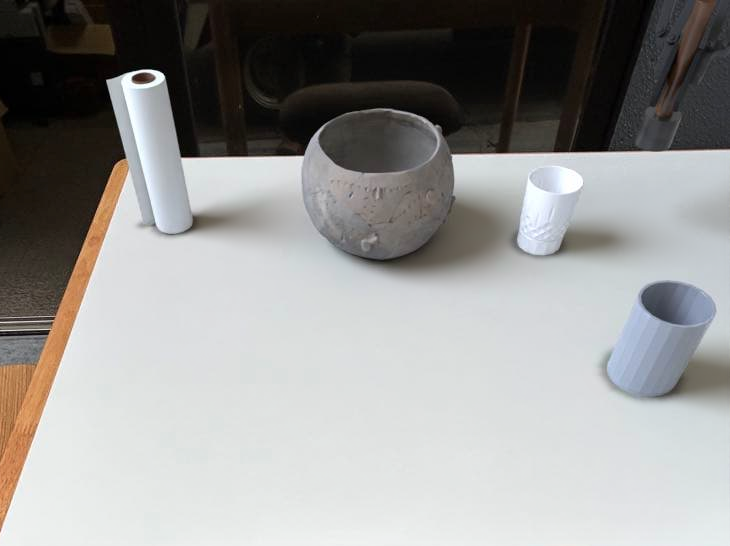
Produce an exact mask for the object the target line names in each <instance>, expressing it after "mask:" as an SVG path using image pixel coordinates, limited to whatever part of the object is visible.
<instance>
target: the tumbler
mask: <svg viewBox="0 0 730 546" xmlns="http://www.w3.org/2000/svg"><path fill="white" fill-rule="evenodd" d="M716 314H717V306H716V302H715V301H714V300H713V299H712V296H710V295H709V294H707V293H706V292H705V290H703V289H701V288H699V287H697V286H695V285H693V284H689V283H686V282H683V281H679V280H670V279H667V280H665V279H664V280H656V281H653V282H650V283H647V284H646V285H645V286H643V287H642V288H641V289H640V290H639V292H638V293H637V296H636V298H635V301H634V303H633V305H632V307H631V310H630V312H629V315H628V317H627V319H626V321H625V323H624V326H623V327H622V331H621V333H620V335H619V337H618V339H617V340H616V341H617V342H616V344H615V346H614V348H613V351H612V352H611V355H610V358H609V360H608V362H607V366H606V371H607V375H608V377H609V378H610V380H611V382H613V383H614V385H616V387H618V388H619V389H621V390H623V391H625V392H627V393H629V394H631V395H634V396H639V397H645V398H655V397H660V396H663V395H666V394H668V393H670V392H672V390H674V388H675V386H676V385H677V383H678V382H679V380H680V378H681V377H682V375H683V373H684V372H685V370H686V368H687V366H688V364H689V362H690V361H691V359H692V357H693V356H694V353H695V352H696V350H697V349H698V347H699V345H700V343H701V341H702V340H703V338H704V336H705V335H706V333H707V331H708V329H709V328H710V326H711V324H712V323H713V321H714V319H715V316H716Z"/></svg>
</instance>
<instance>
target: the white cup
mask: <svg viewBox="0 0 730 546" xmlns="http://www.w3.org/2000/svg"><path fill="white" fill-rule="evenodd" d="M584 183H585V181H584V178H583V177H582V175H581V174H580V173H578V172H577V171H575V170H573V169H571V168H568V167H564V166H560V165H559V166H558V165H544V166H540V167H537V168H534V169H533V170H532V171H530V172H529V174H528V176H527V182H526V187H525V192H524V197H523V202H522V207H521V214H520V219H519V228H518V232H517V238H516V243H517V245H518V247H519V248H520V249H521V250H522V251H524V252H525V253H529V254H531V255H536V256H547V255H548V256H549V255H552V254H554V253H557V252H558V251H559V250H560V247H561V246H562V242H563V239H564V237H565V234H566V232H567V230H568V227H569V225H570V223H571V220H572V217H573V215H574V211H575V209H576V206H577V204H578V201H579V197H580V195H581V193H582V190H583V187H584Z"/></svg>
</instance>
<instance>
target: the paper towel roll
mask: <svg viewBox="0 0 730 546" xmlns="http://www.w3.org/2000/svg"><path fill="white" fill-rule="evenodd" d="M166 79H167V78H166V76H165V75H164V72H163V73H162V72H161V71H159V70H154V69H140V70H136V71H135V70H134V71H131V72H126V73H123V74H122V75H119V76H117V77H114V78H110V79H106V85H107V89H108V92H109V96H110V100H111V104H112V107H113V112H114V115H115V119H116V122H117V123H116V124H117V127H118V130H119V131H118V132H119V135H120V138H121V142H122V146H123V150H124V154H125V158H126V160H127V161H126V162H127V165H128V169H129V173H130V177H131V180H132V184H133V188H134V191H135V196H136V200H137V204H138V207H139V212H140V215H141V218H142V222H143V225H149V224H151V223H154V222H155V225H156V227H157V229H158V231H160V232H161V233H165V234H169V235H172V234H173V235H174V234H175V235H176V234H177V235H178V234H181V233H184V232H185V231H187V230H190V228H192V226H193V222H194V218H193V214H192V208H191V202H190V198H189V193H188V187H187V183H186V176H185V171H184V167H183V162H182V156H181V152H180V145H179V142H178V141H179V140H178V136H177V130H176V126H175V125H176V124H175V120H174V115H173V109H172V105H171V100H170V95H169V90H168V84H167V80H166Z"/></svg>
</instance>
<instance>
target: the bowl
mask: <svg viewBox="0 0 730 546" xmlns="http://www.w3.org/2000/svg"><path fill="white" fill-rule="evenodd" d="M306 147H307V148H306V150H305V153H304V155H303V159H302V164H301V173H300V174H301V175H300V176H301V177H300V178H301V193H302V198H303V204H304V206H305V209H306V212H307V214H308V216H309V218H310V220H311V223H312V224H313V226H314V227H315V229H316V230H317V232H318V233H319V234H320V236H322V237H324V238H325V239H326V240H327V241H329V242H330V243H331V244H333V246H335V247H338V248H339V249H340V250H343V251H345V252H347V253H349V254H352V255H355V256H358V257H361V258H365V259H372V260H378V261H381V260H385V261H386V260H391V259H396V258H400V257H404V256H406V255H409V254H410V253H412V252H415V251H416V250H418V249H419V248H421V247H422V246H423V245H425V244H426V243H427V242H428V241H430V239H431V237H433V236H434V235H435V234H436V232H437V231H438V230H439V228H440V227H441V225H442V223H447V222H448V220H449V217H450V213H451V212H452V210H453V208H454V203H455V201H456V199H457V197H456V196H455V195H454V191H455V171H454V163H453V155H452V154H451V151H450V148H449V144H448V142H447V140H446V139H445V136H443V129H442V127H441V126H440V125H438V124H435V125H434V124H433V123H432V122H431V121H429V120H428V119H427V118H425V117H423V116H420V115H417V114H415V113H412V112H408V111H402V110H397V109H393V108H381V107H380V108H372V109H366V110H360V111H358V110H356V111H352V112H346V113H344V114H341V115H339V116H337V117H335V118H333V119H331V120H330V121H328V122H326V123H324V124H323V125H322V126H321V127H320V128H319V129H318V130H317V131H316V132H315V133H314V134H313V136H312V137H311V138H310V141H309V143H308V144H307V146H306Z"/></svg>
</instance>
